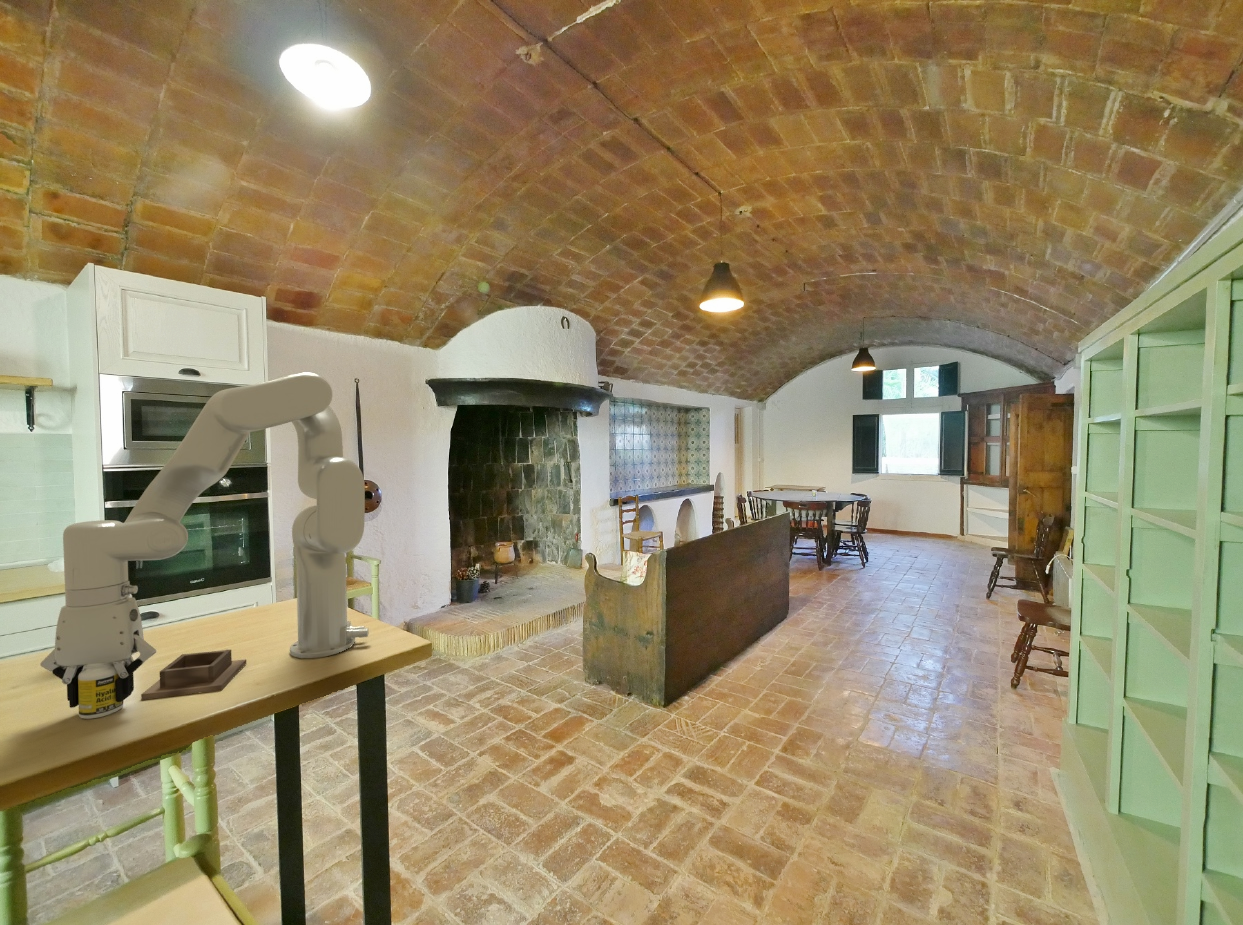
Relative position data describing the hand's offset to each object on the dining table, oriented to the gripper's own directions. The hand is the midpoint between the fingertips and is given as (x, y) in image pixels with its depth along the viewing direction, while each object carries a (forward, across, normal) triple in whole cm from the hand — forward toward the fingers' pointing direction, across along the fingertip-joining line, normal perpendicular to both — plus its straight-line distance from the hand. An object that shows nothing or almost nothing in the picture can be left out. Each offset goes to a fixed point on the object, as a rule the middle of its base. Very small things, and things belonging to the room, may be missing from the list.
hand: (101, 700), depth 89 cm
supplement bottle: (+2, 0, 0) cm, 2 cm away
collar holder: (+2, -10, -9) cm, 14 cm away
